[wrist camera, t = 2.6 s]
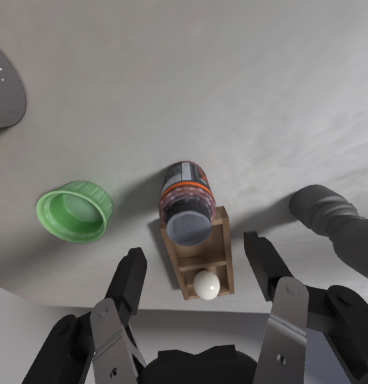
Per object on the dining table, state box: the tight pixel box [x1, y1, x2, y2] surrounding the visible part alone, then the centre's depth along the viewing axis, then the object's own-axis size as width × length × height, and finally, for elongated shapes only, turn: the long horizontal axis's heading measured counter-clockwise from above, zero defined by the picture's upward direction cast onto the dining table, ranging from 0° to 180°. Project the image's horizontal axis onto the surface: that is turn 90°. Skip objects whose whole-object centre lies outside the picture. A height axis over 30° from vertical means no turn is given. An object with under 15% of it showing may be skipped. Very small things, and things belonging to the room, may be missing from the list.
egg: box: [193, 270, 220, 300], centre depth 30 cm, size 5×5×5 cm
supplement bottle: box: [159, 161, 216, 247], centre depth 19 cm, size 6×6×11 cm
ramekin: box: [36, 181, 113, 244], centre depth 23 cm, size 9×9×4 cm
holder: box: [160, 206, 235, 300], centre depth 30 cm, size 10×20×3 cm, turn 11°
